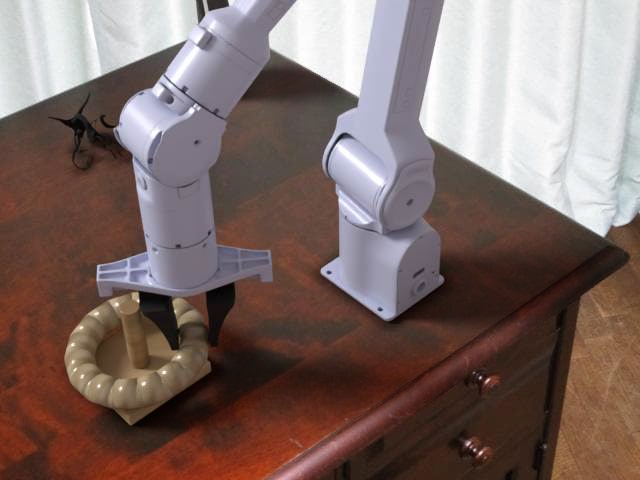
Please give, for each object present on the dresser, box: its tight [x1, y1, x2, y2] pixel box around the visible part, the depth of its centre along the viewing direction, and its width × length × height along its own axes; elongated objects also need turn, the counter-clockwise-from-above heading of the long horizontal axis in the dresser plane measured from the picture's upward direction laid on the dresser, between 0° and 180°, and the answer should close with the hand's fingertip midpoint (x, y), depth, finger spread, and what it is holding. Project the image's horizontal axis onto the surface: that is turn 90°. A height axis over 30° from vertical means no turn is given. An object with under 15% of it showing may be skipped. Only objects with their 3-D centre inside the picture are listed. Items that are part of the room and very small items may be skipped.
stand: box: [95, 300, 212, 426], centre depth 101 cm, size 9×9×8 cm
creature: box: [47, 91, 123, 170], centre depth 127 cm, size 8×5×8 cm
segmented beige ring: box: [63, 291, 210, 410], centre depth 102 cm, size 13×13×3 cm
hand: (194, 340), depth 102 cm, fingers closed on segmented beige ring, 3 cm apart
